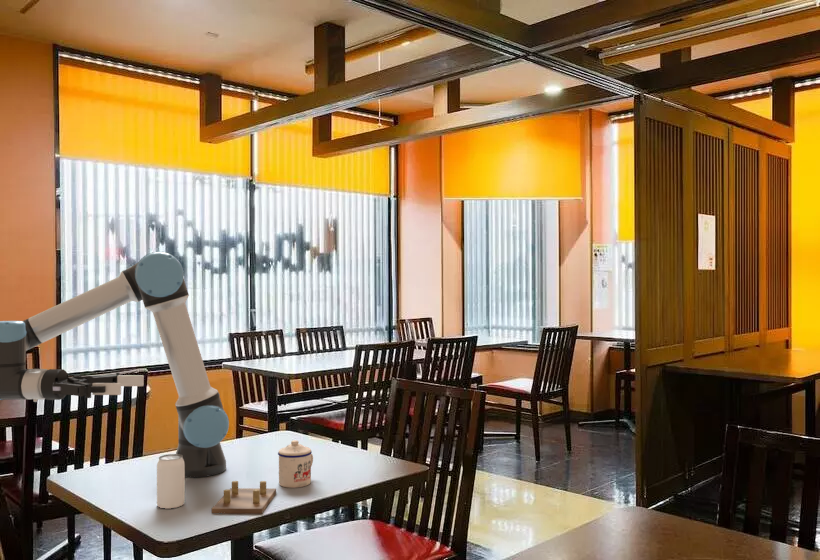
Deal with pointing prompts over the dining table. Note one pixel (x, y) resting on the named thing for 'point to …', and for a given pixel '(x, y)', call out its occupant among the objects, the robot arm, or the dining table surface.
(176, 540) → the dining table surface
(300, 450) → the teacup with lid
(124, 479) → the dining table surface
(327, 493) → the dining table surface
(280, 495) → the dining table surface
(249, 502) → the pin tray
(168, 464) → the can
